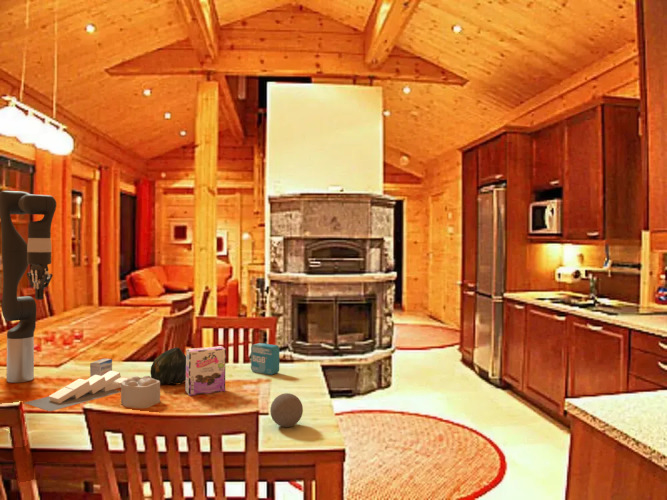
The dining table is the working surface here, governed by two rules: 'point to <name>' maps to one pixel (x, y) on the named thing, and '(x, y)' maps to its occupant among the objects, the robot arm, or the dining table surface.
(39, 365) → the dining table surface
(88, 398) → the mat
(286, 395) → the decorative ball
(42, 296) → the robot arm
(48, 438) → the dining table surface
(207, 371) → the candy box
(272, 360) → the data package
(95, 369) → the medicine box
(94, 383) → the domino
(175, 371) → the squash
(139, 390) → the lumpy-topped squat cylinder
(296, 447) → the dining table surface
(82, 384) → the domino
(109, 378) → the domino
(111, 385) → the domino
